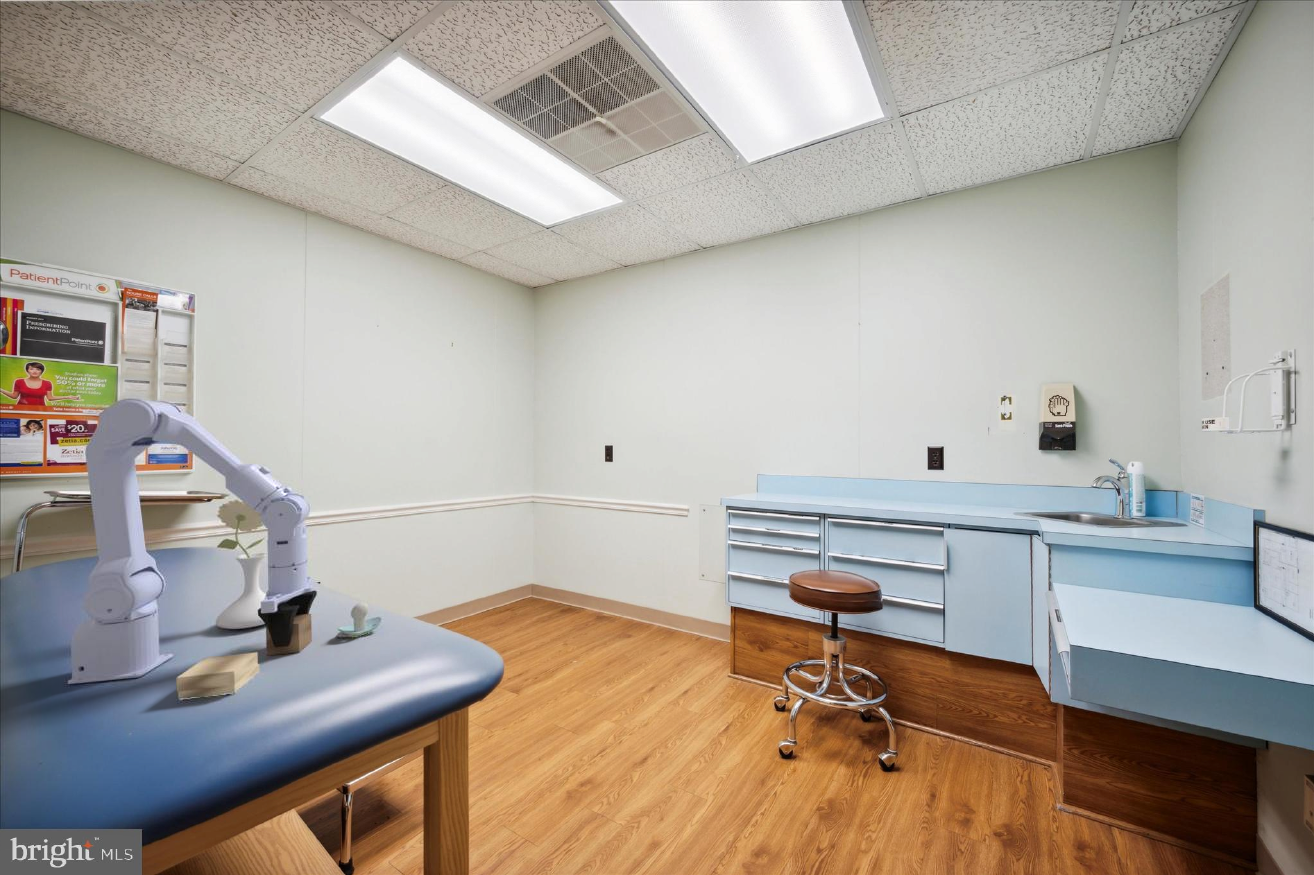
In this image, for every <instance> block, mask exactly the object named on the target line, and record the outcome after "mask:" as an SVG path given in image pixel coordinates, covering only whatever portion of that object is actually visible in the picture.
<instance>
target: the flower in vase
mask: <svg viewBox="0 0 1314 875" xmlns="http://www.w3.org/2000/svg"><path fill="white" fill-rule="evenodd" d="M217 512H218V514H217V515H216V516H217V518H218V519H220V520H221V521H220V522H222V524H225V526H226V527H228V528H230V529H232V530H236V531H235V537H234V538H235V540H233V539H231V538H230V539H229V538H224V539H222V541H221V542H220V543H218V545H217V546H216V548H218V549H219V548H221V549H228V550H235V549H236V548H237V547H238V546H239V548H240V549H241V550H242V551H243V553H244V554H239V555H236V556H235V557H234V558H235V559H236V561H237V562H238V563H239V564H240V566H241V567H242V572H243V577H244V589H243V592H242V594H241V595H240V596H239V597H238V598H237V599H236V600H235V601H234V602H232V603H231V604H230V605H229V606H227V607H226V608H225V609H223V611H222V612H221V613H220V614H219V615H218V616H217V618H216V621H215V624H216V625H217V626H218V627H219V628H222V629H227V630H228V629H231V630H239V629H240V630H241V629H247V628H253V627H254V628H255V627H259V626H262V625H265V623H264V622H263V620H262V619H261V618H260V617H259V616H258V609H260V608H261V601H263V600H264V599H265V596H266V593H265V592H264V591H263V590H261V588H260V581H259V580H260V579H259V578H260V569H261V564H262V562H263V560H264V558H265V557H266V556H267V555H268V552H267V553H266V552H251V553H248V551H247V550H249V549H251V548H253V547H255V546H257V545H258V544H260V543H261V542H262V541H263V540H265V538H266V536H264V537H263V538H261V539H259V540H256V541H254V542H252V543H251V544H250V545H248V546H247V547H246V548H244V546H243V545H242V544H241V542H240V541H239V538H238V537H239V536H238V533H239V530H240V531H241V532H251V531H252V530H258V528H262V527H263V526H264V525H263V523H262V521H261V517H260V516H261V515H262V514H261V513H257V512H256V511H254V510H253V509H252V508H251V507H249V506H248V505H247V504H246V503H244V502H243V501H241V500H239V499H234V501H233V500H229V501H228V502H226V503H222V504H221V505H220V506H219V507H218V511H217Z"/></svg>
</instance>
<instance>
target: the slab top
mask: <svg viewBox="0 0 1314 875" xmlns="http://www.w3.org/2000/svg"><path fill="white" fill-rule="evenodd" d="M258 656H259V655H258V651H256V652H249V653H247V652H246V653H238V654H230V655H220V656H212V657H211V656H210V657H205V658H203V659H202V660H200V661H199V662H197V663H195V665H193V666H192V667H190V668H189V669H187V670H186V671H184V672H183V673H181V674H180V675H178V676H177V677H176V692H177V693H178V692H180V691H188V690H196V689H205V688H213V687H221V686H229V685H235V684H236V683H237V682H238V681H240V680H241V679H242V678H243V677H244V676H245V675H247V674H248V673H249V672H250V671H251V670H252V669H253V668H255V667H256V666H257V665H258V664H259V663H258V662H259V661H258V659H259V658H258Z"/></svg>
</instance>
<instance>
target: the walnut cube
mask: <svg viewBox="0 0 1314 875" xmlns="http://www.w3.org/2000/svg"><path fill="white" fill-rule="evenodd" d="M312 633H313V631H312V613H309V614H302V615H295V618H294V621H293V627H292V636H291V641H290V645H289V646H287V647H276V648H275V647H274V645H273V642H272V639H271V636H270V633H269V630H268V628H267V626H266V625H265V637H266V638H265V639H266V641H265V642H266V643H265V645H266V648H265V649H266V656H273V655H283V654H295V653H297V654H298V653H300V652H301V651H303V649H305V648H306V647H307V646H309V645H310V643H312V640H313V636H312Z"/></svg>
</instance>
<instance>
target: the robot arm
mask: <svg viewBox="0 0 1314 875" xmlns="http://www.w3.org/2000/svg"><path fill="white" fill-rule="evenodd" d="M98 420H99V423H98V425H97V426H96V428H95V429H94V430H95V431H94V432H93V434H92V436H91V437H90V439H89V441H88V443H87V444H86V446H85V451H84V452H85V460H86V461H85V462H86V470H87V476H88V478H87V479H88V484H89V485H88V486H89V492H90V493H89V494H90V500H91V509H92V516H93V523H94V524H93V525H94V532H95V539H96V540H95V542H96V549H97V556H98V561H97V564H96V565H95V566H94V568H93V569H92V571H91V572H90V574H89V575H88V578H87V580H88V589H87V591H86V593H85V595H84V597H83V601H82V606H83V607H82V608H83V610H84V612H85V614H86V615H87V616H88V617H90V618H88V619H86V620H83V621H82V622H81V623H80V624H78V626H77V627H76V628H75V630H74V631H73V634H72V635H71V636H72V637H71V641H70V651H71V655H70V656H71V679H69V680H67V684H68V685H71V684H72V685H73V684H82V683H93V682H104V681H113V680H114V681H115V680H123V679H133V678H140V677H142V676H143V675H145V674H147V673H149V672H151V671H152V670H154V669H155V668H157V667H158V666H160V665H162V664H163V663H165V662H167V661H168V660H170V659H171V658H173V657H174V654H173V653H166V654H160V636H159V635H160V634H159V631H160V630H159V606H158V603H157V602H158V601H157V600H158V599H159V598H160V597H161V596H162V595H163V594H164V592H165V589H166V586H167V584H166V580H165V578H164V576H163V575H162V573H161V572H160V571H159V569H158V567H157V562H156V559H155V558H154V556H152V555H150V554H149V553H148V552H147V549H146V542H145V541H146V540H145V533H144V525H143V518H142V517H143V515H142V509H141V500H140V493H139V485H138V477H137V470H136V469H137V468H136V467H137V466H136V458H137V457H138V456H140V455H141V454H142V453H144V452H146V450H148V448H150V447H151V446H153V445H154V444H156V443H159V442H161V443H167V444H171V445H172V444H173V445H177V446H181V447H183V448H184V449H186V450H187V451H189V452H190V453H192V454H193V455H194V456H195V457H197V458H198V459H200V460H201V461H203V462H204V463H205V464H207V465H208V466H210V467H211V468H212V469H213V470H215V471H217V472H218V473H219V474H220V475H222V476H223V477H224V478H225V481H224V482H225V488H226V489H227V490H228V491H229V492H230V493H232V494H233V495H234V496H236V497H237V498H238V500H239V499H240V501H241V502H244V503H246V504H247V505H248V506H249V507H251V508H252V509H253V510H254V511H256V512H257V513H261V514H262V515H261V516H260V517H261V521H262V524H263V526H264V527H265V528H266V529H267V539H266V540H267V542H266V543H267V546H266V547H267V585H268V586H267V587H268V590H267V591H266V593H265V594H266V596H265V599H264V600H263V601H261V608H260V609H258V616H259V617H260V618H261V619H262V620H263V622H264V623H265V624H264V625H265V627H266V626H267V628H268V630H269V633H270V636H271V639H272V642H273V645H274V647H275V648H276V647H287V646H289V645H290V641H291V636H292V627H293V621H294V618H295V615H302V614H310V610H311V607H312V605H313V602H314V600H315V599H316V597H317V595H318V594H317V590H316V585H314V584H313V576H308V536H307V523H306V521H305V520H306V519H307V518H308V517H309V515H310V512H311V511H310V510H311V506H310V504H309V502H308V500H307V499H306V498H305V497H304V495H302V494H299V493H296V492H293V489H292V488H291V487H290V486H287V487H285V486H284V485H283V484H281V483H280V482H279V481H278V480H277V479H276V478H274V477H273V476H272V475H271V474H270V473H271V472H272V470H271V469H270V468H268V467H267V466H266V465H265V466H260V465H259V464H255V463H244V462H243V461H241V459H239V458H238V457H237V456H236V455H235V454H234V453H232V452H231V451H230V450H229V449H228V448H227V447H226V446H225V445H224V444H222V443H221V442H220V441H219V440H218V439H217V438H216V437H214V435H212V434H211V432H209V431H208V430H207V429H205V427H203V426H202V425H201V424H200V423H199V422H198V421H197V420H196V419H195V418H194V417H193V416H192V415H191V414H188V413H187V412H183V410H182V409H181V408H180V407H179V406H178V405H176V404H174V403H173V402H169V401H164V400H163V401H161V400H156V401H155V400H147V399H146V400H145V399H144V400H143V399H140V398H133V397H129V398H123V399H119V400H117V401H116V402H114V403H112V404H111V405H109V406H108V407H106V408H105V409H103V410H102V411H101V412H99V413H98Z"/></svg>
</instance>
